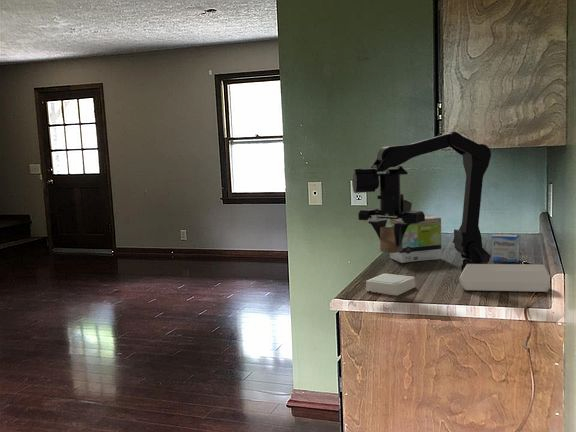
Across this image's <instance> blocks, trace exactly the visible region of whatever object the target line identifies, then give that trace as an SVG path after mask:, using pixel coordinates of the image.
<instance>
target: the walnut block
mask: <svg viewBox="0 0 576 432" xmlns="http://www.w3.org/2000/svg"><path fill="white" fill-rule="evenodd" d="M379 242H380V244H379V245H380V246H379V247H380V248H379V249H380V252H382V253H389V254H390V253H396V252H399V251H402V250H403V247H402V243H401V246H399V247H397V243H396V234H395V226H393V225H390V224H387V225H386V226H383V227H380V239H379Z"/></svg>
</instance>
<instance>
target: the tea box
mask: <svg viewBox="0 0 576 432" xmlns="http://www.w3.org/2000/svg"><path fill="white" fill-rule="evenodd" d="M424 215H425V221H423V222H419V223H415V224H410V225H409V226H408V227H407V229H406V231H405V234H404V237H403V240H402V247H403V250H402V251H399V252H396V253H389V257H390V259H392V260H394V261H396V262H399V263H401V264H405V263H412V262H420V261H421V262H422V261H433V260H435V261H436V260H441V259H442V218H441V217H439V216H434V215H430V214H424ZM395 223H399V219H389V225H393V226H395V225H394V224H395Z"/></svg>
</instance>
